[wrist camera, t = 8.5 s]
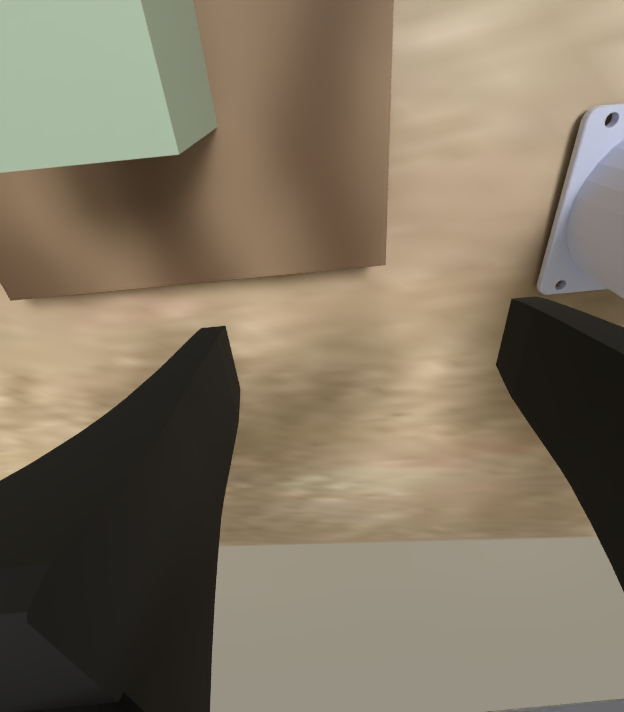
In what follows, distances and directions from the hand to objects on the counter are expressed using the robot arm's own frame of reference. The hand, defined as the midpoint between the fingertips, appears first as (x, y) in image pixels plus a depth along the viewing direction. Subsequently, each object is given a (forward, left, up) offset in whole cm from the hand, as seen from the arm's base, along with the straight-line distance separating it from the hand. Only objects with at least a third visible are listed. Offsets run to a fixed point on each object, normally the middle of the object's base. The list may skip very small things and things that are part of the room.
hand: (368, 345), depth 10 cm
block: (+6, -7, -7) cm, 12 cm away
